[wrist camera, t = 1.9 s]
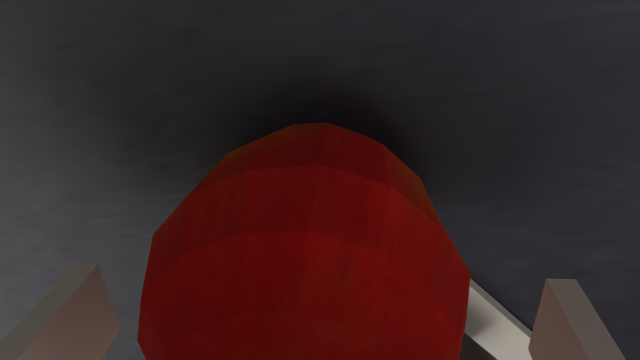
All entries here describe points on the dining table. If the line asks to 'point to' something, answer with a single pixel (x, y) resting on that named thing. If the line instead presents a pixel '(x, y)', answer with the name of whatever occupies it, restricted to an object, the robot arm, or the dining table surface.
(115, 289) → the dining table surface
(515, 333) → the chassis
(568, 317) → the robot arm
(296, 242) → the apple
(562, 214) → the dining table surface
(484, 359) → the wheel
